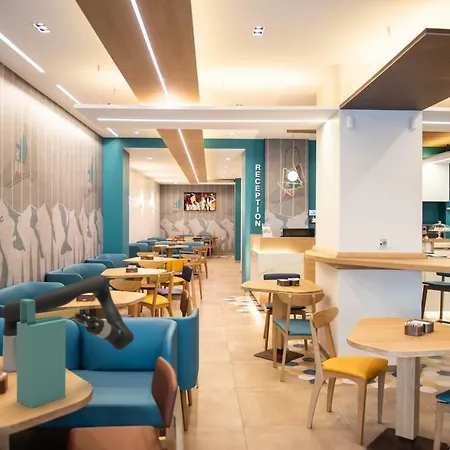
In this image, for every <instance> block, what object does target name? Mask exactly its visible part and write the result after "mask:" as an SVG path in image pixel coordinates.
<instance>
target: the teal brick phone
mask: <svg viewBox="0 0 450 450" xmlns="http://www.w3.org/2000/svg"><path fill="white" fill-rule="evenodd" d="M19 301H20V322H17V371H16V402H18V403H20V405H21V404H22V405H24V406H26V407H28V408H30V409H33V408H36V407H39V406H43V405H45V404H46V405H47V404H49V403H51V402H55V401H58V400H61V399H63V398H66V360H67V359H66V354H67V353H66V339H67V338H66V321H67V320H66V319H65V318H64V319H62V316H58V317H53V318H47V319H41V320H36V321H35V314H36V313H35V300H31V298H23V299H20V300H19Z"/></svg>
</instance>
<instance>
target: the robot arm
mask: <svg viewBox="0 0 450 450" xmlns="http://www.w3.org/2000/svg"><path fill="white" fill-rule="evenodd" d="M91 293H92V294H93V295H94V296H95V298H96V300H97V301H98V302H99V304H100V306H101V309H102V311H103V315H104V317H105V320H106V321H105V320H104V319H101V318H100V317H98V316H95V315H94V316H91V317H90V316H85V315H83V314H81V313H79V314H78V315H77V317H70V318H69V320H72V321H74V322H75V323H76V324H80V325H81V326H83V327H85V331H86V332H87V333H89V334H91V335H93V336H95V337H97V338H101V339H103V340H105V341H107V342H108V343H109V344H110V345H111V346H112V347H113V348H114V349H115V350H121V351H122V350H123V349H125V348H126V347H127V346H129V345H130V344H132V343H133V341H134V339H135V336H134V334H133V331H132V330H131V329H130V328H129V327H128V325H126V323H125V322H124V320H123V317H122V315H121V313H120V311H119V310H118V308H117V306H116V304H115V302H114V300H113V297H112V295H111V294H112V293H111V288H110V284H109V281H108V279H107V277H106V276H105V275H103V274H95V275H92V276H90V277H87V278H85V279H81V280H80V281H77V282H73V283H71V284H67V285H63V286H61V287H57V288H53V289H50V290H47V291H44V292H41V293H40V294H38V295H35V296H34V297H32V298H30V299H31V300H35V314H38V313H43V312H45V311H46V312H47V311H49V310H54V309H57V308H60V307H62V306H66V305H68V304H70V303H71V302H73V301H74V300H76V299H77V298H79V297H80V296H82V295H86V294H91ZM1 317H2V319H3V320H4V323H3V328H2V329H3V330H2V337H3V338H2V371H3V372H7V373H8V372H9V373H13V372H17V322H20V300H15V299H14V300H10V301H9V302H8V303H5V305H4V306H3V308H2V309H1ZM119 331H120V332H119Z"/></svg>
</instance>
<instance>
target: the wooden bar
mask: <svg viewBox="0 0 450 450" xmlns="http://www.w3.org/2000/svg"><path fill="white" fill-rule="evenodd" d="M80 310H81V309H79V308H75V307H74V308H66V309H59V310H54V311H46V312H45V311H44V312H37V313H35V321H36V320H41V319H47V318H53V317H58V316H62V319H64V320H65V319H70V317H74V318H75V317H77V315H78V314H80Z"/></svg>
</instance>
